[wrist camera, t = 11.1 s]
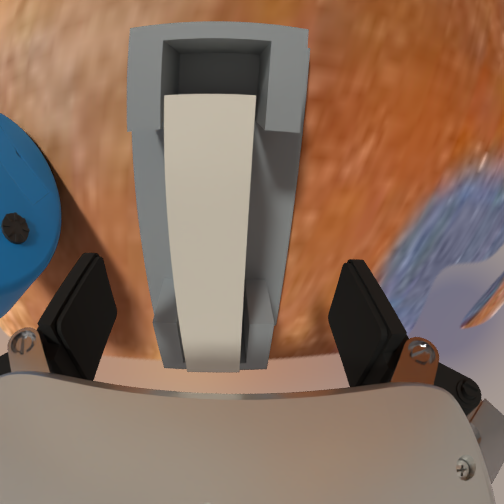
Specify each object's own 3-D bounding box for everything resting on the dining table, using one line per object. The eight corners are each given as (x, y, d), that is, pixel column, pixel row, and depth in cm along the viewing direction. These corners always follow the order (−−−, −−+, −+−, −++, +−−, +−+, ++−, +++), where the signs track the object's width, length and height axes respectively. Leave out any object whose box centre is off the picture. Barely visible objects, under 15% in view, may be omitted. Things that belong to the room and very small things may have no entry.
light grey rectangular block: (244, 95, 14) (256, 95, 8) (235, 295, 21) (239, 372, 16) (190, 94, 14) (164, 95, 8) (195, 295, 21) (187, 371, 15)
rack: (305, 50, 14) (337, 35, 9) (274, 316, 24) (284, 368, 20) (138, 48, 13) (102, 33, 8) (158, 315, 23) (147, 366, 19)
